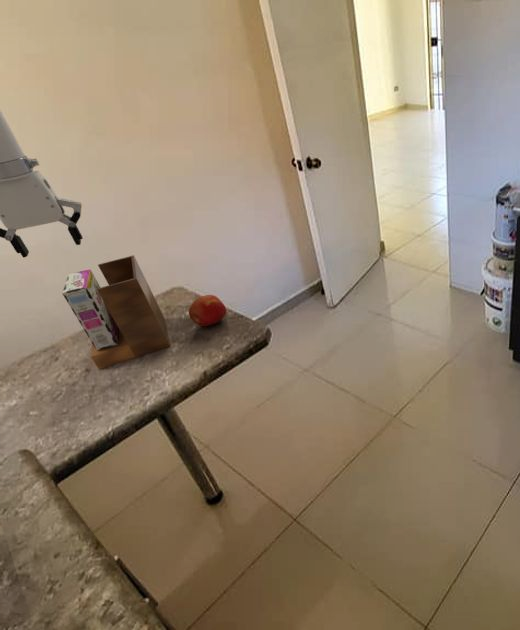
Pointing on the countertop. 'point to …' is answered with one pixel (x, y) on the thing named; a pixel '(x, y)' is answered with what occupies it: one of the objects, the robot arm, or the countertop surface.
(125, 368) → the countertop surface
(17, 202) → the robot arm
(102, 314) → the candy bar box
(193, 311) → the apple
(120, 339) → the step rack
